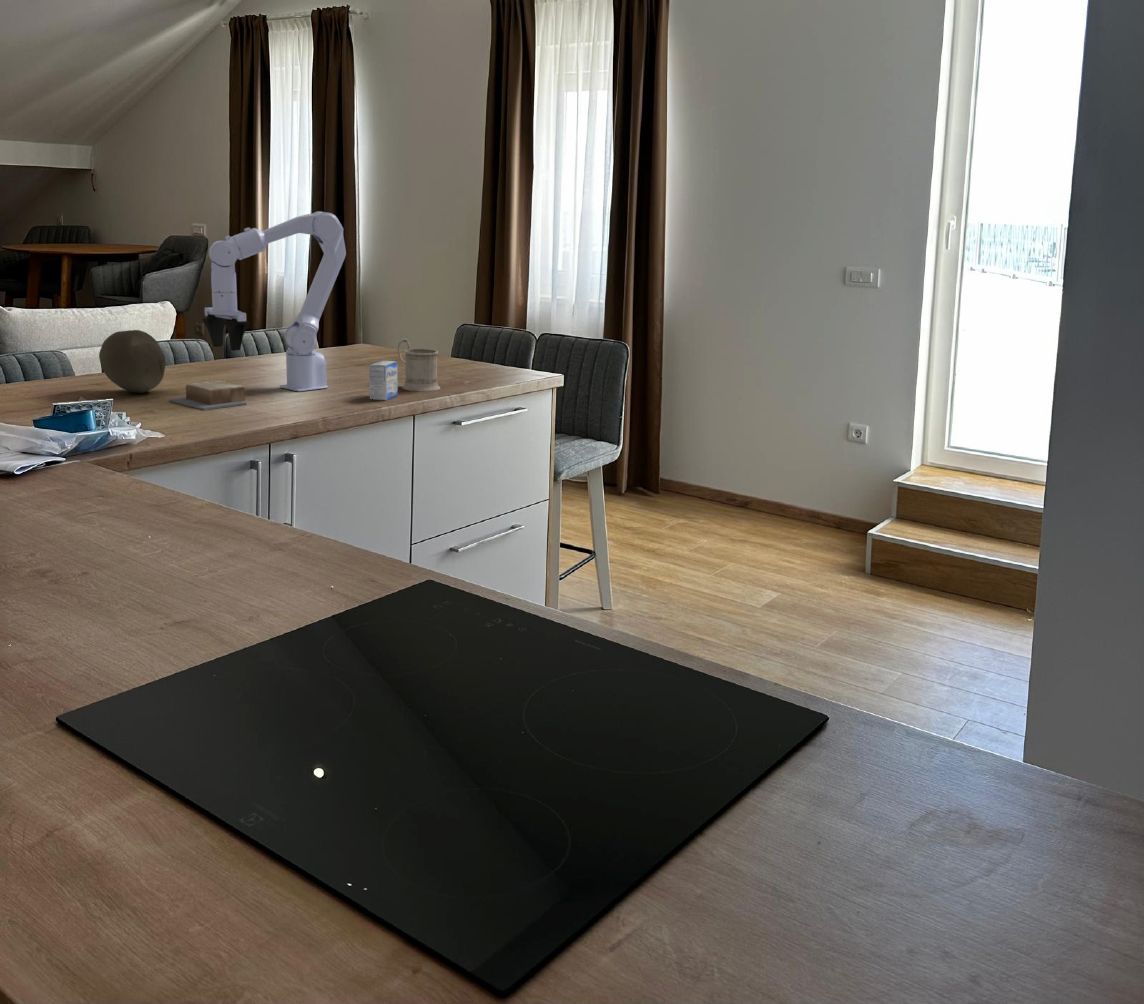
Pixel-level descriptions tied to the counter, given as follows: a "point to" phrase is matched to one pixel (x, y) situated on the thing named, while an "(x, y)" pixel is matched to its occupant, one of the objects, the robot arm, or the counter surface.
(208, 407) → the mat
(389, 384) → the medicine box
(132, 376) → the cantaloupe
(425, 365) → the mug
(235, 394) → the brown wooden block
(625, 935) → the counter surface
